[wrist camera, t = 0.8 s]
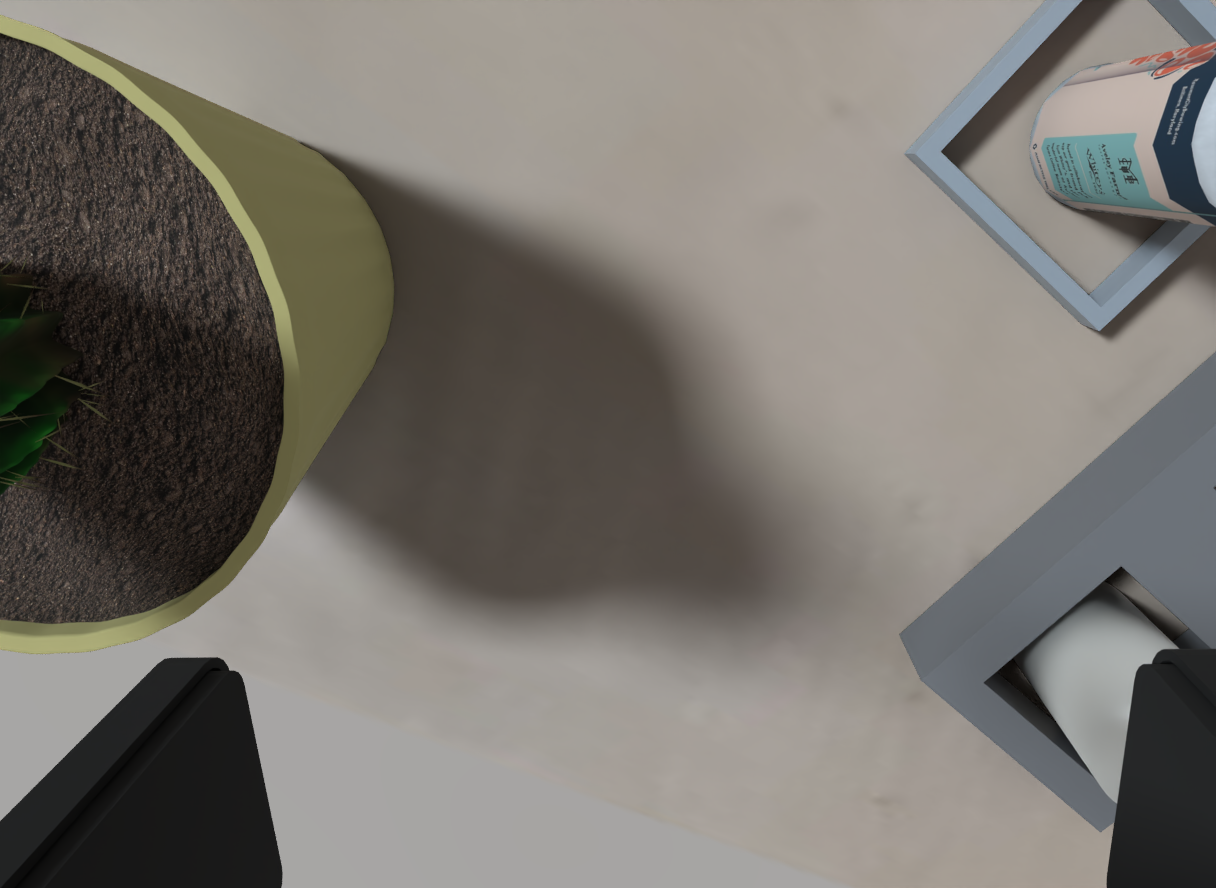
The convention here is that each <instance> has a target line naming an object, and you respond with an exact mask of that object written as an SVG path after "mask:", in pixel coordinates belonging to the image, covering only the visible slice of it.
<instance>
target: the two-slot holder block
mask: <svg viewBox="0 0 1216 888" xmlns="http://www.w3.org/2000/svg"><path fill="white" fill-rule="evenodd" d="M1215 486H1216V352H1215V353H1214V354H1213V355H1212V356H1211V357H1209V358H1208V359H1207V360H1206V361H1205V362H1204V363H1203V364H1202V365H1200V366H1199V367H1198V368H1197V369H1196V370H1195V371H1194V372H1193V373H1192V374H1190V375H1189V376H1188V377H1187V378H1186V379H1185V380H1184V381H1183V382H1181V383H1180V384H1179V385H1178V386H1177V387H1176V388H1175V389H1174V390H1172V391H1171V392H1170V393H1169V394H1168V395H1167V396H1166V397H1165V398H1164V399H1162V400H1161V401H1160V402H1159V403H1158V404H1157V405H1156V406H1155V407H1153V408H1152V409H1151V410H1150V411H1149V412H1148V413H1147V414H1146V415H1145V416H1143V417H1142V418H1141V419H1140V420H1139V421H1138V422H1137V423H1136V424H1134V425H1133V426H1132V427H1131V428H1130V429H1129V430H1128V431H1127V432H1126V433H1124V434H1123V435H1122V436H1121V437H1120V438H1119V439H1118V440H1117V441H1115V442H1114V443H1113V444H1112V445H1111V446H1110V447H1109V448H1108V449H1106V450H1105V451H1104V452H1103V453H1102V454H1101V455H1100V456H1099V457H1098V458H1096V459H1095V460H1094V461H1093V462H1092V463H1091V464H1090V465H1089V466H1087V467H1086V468H1085V469H1084V470H1083V471H1082V472H1081V473H1080V474H1079V475H1077V476H1076V477H1075V478H1074V479H1073V480H1072V481H1071V482H1070V483H1068V484H1067V485H1066V486H1065V487H1064V488H1063V489H1062V490H1061V491H1059V492H1058V493H1057V494H1056V495H1055V496H1054V497H1053V498H1052V499H1051V500H1049V501H1048V502H1047V503H1046V504H1045V505H1044V506H1043V507H1042V508H1040V509H1039V510H1038V511H1037V512H1036V513H1035V514H1034V515H1033V516H1032V517H1030V518H1029V519H1028V520H1027V521H1026V522H1025V523H1024V524H1023V525H1021V526H1020V527H1019V528H1018V529H1017V530H1016V531H1015V532H1014V533H1013V534H1011V535H1010V536H1009V537H1008V538H1007V539H1006V540H1005V541H1004V542H1002V543H1001V544H1000V545H999V546H998V547H997V548H996V549H995V550H993V551H992V552H991V553H990V554H989V555H988V556H987V557H986V558H985V559H983V560H982V561H981V562H980V563H979V564H978V565H977V566H976V567H974V568H973V569H972V570H971V571H970V572H969V573H968V574H967V575H966V576H964V577H963V578H962V579H961V580H960V581H959V582H958V583H957V584H955V585H954V586H953V587H952V588H951V589H950V590H949V591H948V592H946V593H945V594H944V595H943V596H942V597H941V598H940V599H939V600H938V601H936V602H935V603H934V604H933V605H932V606H931V607H930V608H929V609H927V610H926V611H925V612H924V613H923V614H922V615H921V616H920V617H919V618H917V619H916V620H915V621H914V622H913V623H912V624H911V625H910V626H908V627H907V628H906V629H905V630H904V631H903V632H902V633H901V634H899V635H900V637H901V639H902V642H903V644H904V646H905V648H906V650H907V652H908V654H909V656H910V658H911V660H912V662H913V665H914V667H915V669H916V671H917V673H918V675H919V677H920V679H921V681H922V682H924V683H925V684H926V685H927V686H928V687H929V688H931V689H932V690H933V691H934V692H935V693H937V694H938V695H939V696H940V697H941V698H942V699H944V700H945V701H946V702H947V703H948V704H949V705H951V706H952V707H953V708H954V709H955V710H957V711H958V712H959V713H960V714H961V715H962V716H964V717H965V718H966V719H967V720H968V721H970V722H971V723H972V724H973V725H974V726H975V727H977V728H978V729H979V730H980V731H981V732H983V733H984V734H985V735H986V736H987V737H988V738H990V739H991V740H992V741H993V742H994V743H996V744H997V745H998V746H999V747H1000V748H1001V749H1003V750H1004V751H1005V752H1006V753H1007V754H1009V755H1010V756H1011V757H1012V758H1013V759H1014V760H1016V761H1017V762H1018V763H1019V764H1020V765H1022V766H1023V767H1024V768H1025V769H1026V770H1027V771H1029V772H1030V773H1031V774H1032V775H1033V776H1035V777H1036V778H1037V779H1038V780H1039V781H1040V782H1042V783H1043V784H1044V785H1045V786H1046V787H1048V788H1049V789H1050V790H1051V791H1052V792H1053V793H1055V794H1056V795H1057V796H1058V797H1059V798H1061V799H1062V800H1063V801H1064V802H1065V803H1066V804H1068V805H1069V806H1070V807H1071V808H1072V809H1074V810H1075V811H1076V812H1077V813H1078V814H1079V815H1081V816H1082V817H1083V818H1084V819H1085V820H1086V821H1088V822H1089V823H1090V824H1091V825H1092V826H1094V827H1095V828H1096V829H1097V830H1098V831H1099V832H1102V831H1103V830H1104V829H1106V828H1107V827H1108V826H1110V825H1111V824H1112V823H1114V822H1115V815H1116V807H1117V800H1118V793H1119V786H1120V779H1121V772H1122V764H1123V757H1124V750H1125V743H1126V736H1127V729H1128V721H1129V714H1130V707H1131V700H1132V693H1133V686H1134V679H1135V675H1136V671H1137V670H1138V668H1139V666H1141V665H1143V664H1152V661H1153V659H1154V657H1155V655H1156V654H1157V652H1159V651H1161V650H1162V649H1216V490H1215V489H1214V487H1215ZM1119 567H1122V568H1124V569H1125V570H1126V571H1127V572H1128V573H1129V574H1130V575H1131V576H1132V577H1133V578H1135V579H1136V580H1137V581H1138V582H1139V583H1140V584H1141V585H1142V586H1143V587H1144V588H1145V589H1147V590H1148V591H1149V592H1150V593H1151V594H1152V595H1153V596H1154V597H1155V598H1156V599H1158V600H1159V601H1160V602H1161V603H1162V604H1163V605H1164V606H1165V607H1166V608H1167V609H1168V610H1170V611H1171V612H1172V613H1173V614H1174V615H1175V616H1176V617H1177V618H1178V619H1179V620H1180V621H1182V622H1183V623H1184V624H1185V625H1186V626H1187V627H1188V628H1189V629H1188V630H1187V631H1186V632H1184V633H1183V634H1182V635H1181V636H1179V637H1178V638H1177V639H1176V640H1174V641H1173V642H1172V641H1171V640H1170V639H1169V638H1168V637H1167V636H1166V635H1165V634H1164V633H1162V632H1161V631H1160V630H1159V629H1158V628H1157V627H1156V626H1155V625H1154V624H1153V623H1152V622H1151V621H1150V620H1149V619H1148V618H1147V617H1146V616H1145V615H1144V614H1143V613H1142V612H1141V611H1140V610H1139V609H1138V608H1137V607H1136V606H1135V605H1133V604H1132V603H1131V602H1130V601H1129V600H1128V599H1127V598H1126V597H1125V596H1124V595H1123V594H1122V593H1121V592H1120V591H1119V590H1117V589H1116V588H1115V587H1113V586H1112V585H1110V584H1108V583H1106V582H1103V581H1104V580H1105V579H1107V578H1108V577H1109V576H1110V575H1111V574H1112V573H1114V572H1115V571H1116V570H1117V569H1118V568H1119ZM1012 658H1014V660H1015V662H1016V663H1017V665H1018V666H1019V668H1020V669H1021V671H1022V672H1023V674H1024V675H1025V677H1026V678H1027V679H1028V681H1029V682H1030V684H1031V685H1032V687H1033V688H1034V690H1035V691H1036V693H1037V694H1038V696H1039V697H1040V699H1041V700H1042V701H1043V703H1044V704H1045V706H1046V707H1047V709H1048V710H1049V712H1050V713H1051V715H1052V716H1053V718H1054V719H1055V720H1056V722H1057V723H1058V724H1057V723H1056V722H1054V721H1053V720H1052V719H1051V718H1050V717H1049V716H1047V715H1046V714H1045V713H1044V712H1043V711H1042V710H1040V709H1039V708H1038V707H1037V706H1036V705H1035V704H1034V703H1032V702H1031V701H1030V700H1029V699H1028V698H1027V697H1025V696H1024V695H1023V694H1022V693H1021V692H1020V691H1018V690H1017V689H1016V688H1015V687H1014V686H1013V685H1012V684H1010V683H1009V682H1008V681H1007V680H1006V679H1005V678H1003V677H1002V676H1001V675H1000V674H999V673H998V672H997V671H998V670H999V669H1000V668H1001V667H1003V666H1004V665H1005V664H1006V663H1007V662H1008V661H1010V660H1011V659H1012Z"/></svg>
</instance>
